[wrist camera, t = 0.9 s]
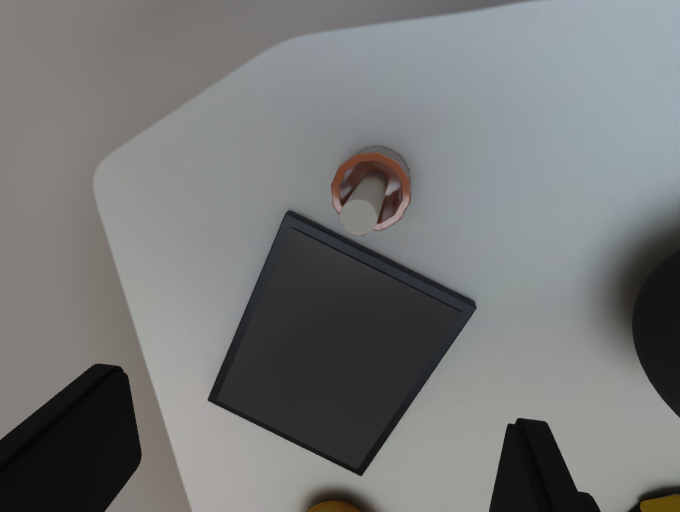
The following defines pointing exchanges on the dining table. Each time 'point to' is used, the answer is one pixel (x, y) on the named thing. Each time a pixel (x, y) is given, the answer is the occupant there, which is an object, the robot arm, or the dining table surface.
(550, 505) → the robot arm
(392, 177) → the pen cup
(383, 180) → the stylus
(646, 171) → the dining table surface
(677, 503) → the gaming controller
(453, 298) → the tablet
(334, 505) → the fruit
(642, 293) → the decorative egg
